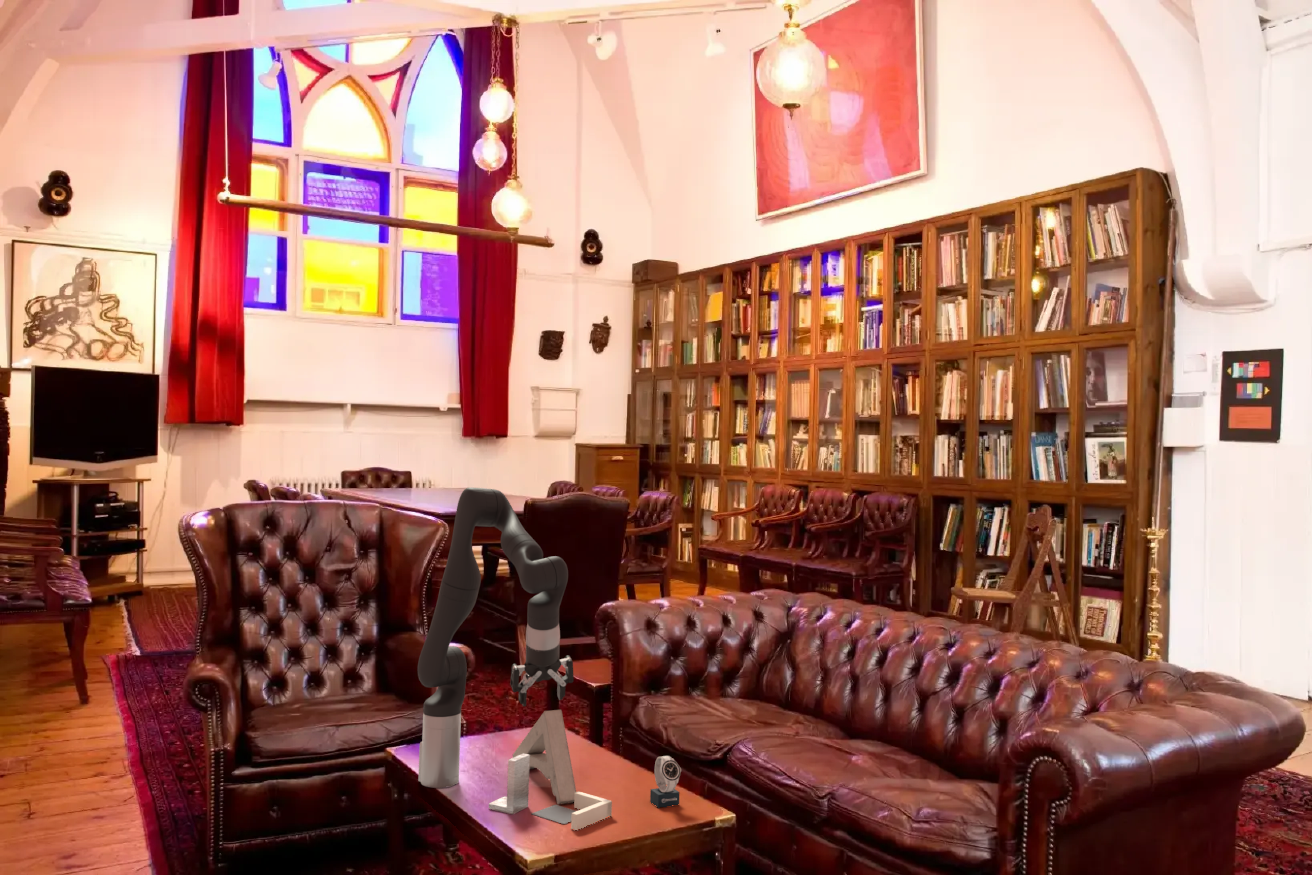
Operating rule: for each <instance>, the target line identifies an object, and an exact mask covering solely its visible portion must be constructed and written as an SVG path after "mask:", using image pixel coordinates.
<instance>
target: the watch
mask: <svg viewBox="0 0 1312 875" xmlns="http://www.w3.org/2000/svg"><path fill="white" fill-rule="evenodd" d="M654 763H655V764H654V771H653V772H654V779H655V784H656V786H657V787H658V788H650V796H649V798H650V799H649V803H650V802H651V804H652V803H653V804H654V805H656V806H657V807H658V808H657V807H656V806H655V807H656V808H657V809H661V808H660V807H664V808H668V807H667V806H671V807H673V806H672V805H678V804H679V805H680V790H679V791H678V790H677V789H676V787H677V784H678V783H679V780H680V776H681V772H682V768H681V767H680V765H679V764H678V762H677V761H676V760H675V759H674V758H672V756H670V755H663V756H658V757H657V758H656V760H655V762H654ZM653 804H652V805H653ZM654 805H653V806H654Z"/></svg>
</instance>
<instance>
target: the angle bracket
mask: <svg viewBox="0 0 1312 875" xmlns="http://www.w3.org/2000/svg"><path fill="white" fill-rule="evenodd" d="M507 760H508V761H507V787H506V788H507V790H506V796H505V795H504V796H502V797H500V798H498V799H496V800H494V801H492V802H489V803H488V809H489V808H490V809H489V810H491V809H492V811H495V812H501V813H505V814H509V815H515V814H517V813H519V812H521V811H522V810H524V809H527V808H529V790H530V788H529V787H530V784H529V783H530V769H529V762H530V755H529V754H521V755H519V756H516V757H514V758H513V757H512V758H510V759H507Z"/></svg>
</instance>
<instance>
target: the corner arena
mask: <svg viewBox="0 0 1312 875" xmlns="http://www.w3.org/2000/svg"><path fill="white" fill-rule="evenodd" d="M573 804H574V805H573V807H574V809H575V808H577V809H576V810H575V811H576V812H573V813H572V816H571V822H570V829H571V830H572V829H574V830H573V831H575V830H577V831H579V830H578V829H580V830H582V829H584V827H585V828H586V826H587V825H590V824H592V825H594V824H596V823H595V822H597V821H599V820H602V819H604V820H606V819H605V818H606V817H608V816H611V817H612V812H613V810H612V809H613V802H612V800H610V799H606V798H603V797H601V796H596V795H594V794H593V795H592V794H589V793H585V792H582V791H576V793H575V799H574V803H573ZM579 809H580V810H579ZM602 821H603V820H602ZM599 822H600V821H599ZM593 823H594V824H593ZM597 823H598V822H597ZM590 826H591V825H590ZM587 827H588V826H587ZM581 828H582V829H581Z"/></svg>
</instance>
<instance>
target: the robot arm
mask: <svg viewBox="0 0 1312 875" xmlns="http://www.w3.org/2000/svg"><path fill="white" fill-rule="evenodd" d="M459 496H460V497H459V499H458V502H457V506H456V510H455V511H456V512H455V518H454V525H453V531H452V537H451V544H450V548H449V552H448V556H447V559H446V560H447V561H446V565H445V569H444V571H443V575H442V579H441V582H440V587H439V592H438V597H437V600H436V604H435V605H436V606H435V608H434V611H433V612H434V613H433V615H432V619H431V623H430V626H429V630H428V631H427V635H426V638H425V641H424V643H423V646H422V649H421V651H420V655H419V658H418V663H417V677H418V680H419V681H420V683H421V685H422V686H424V687H425V688H437V689H436V690H435V692H434V693H433V694H432V695H430V697H428V698H426V699H425V701H424V703H423V706H422V708H423V709H422V710H423V712H422V713H423V714H422V736H421V739H422V741H420V743H419V748H418V749H419V752H418V779H417V780H418V782H420V784H421V785H422V786H424V787H426V788H434V789H440V788H442V789H443V788H449V787H453V786H456V785H457V784H458V783H459V781H460V757H461V756H460V754H461V724H462V723H461V719H462V707H463V706H462V705H463V704H464V701H465V697H466V696H465V695H466V694H465V693H466V683H467V670H468V668H467V667H468V666H467V658H466V655H465V653H464V651H463V650H462V649H461V648H460V647H459V646H454V645H453V646H451V645H450V644H451V641H452V640H453V637H454V635H455V634H456V632H457V631H458V629H459V628H460V626H461V625H462V624H463V622H465V620H466V619H467V618H468V616H469V615H470V614H471V612H472V610H473V608H474V607H475V605H476V602H477V598H478V594H479V591H480V587H481V583H482V582H481V581H482V576H481V570H480V567H479V565H478V563H477V560H476V556H475V554H474V550H473V544H472V543H473V535H474V531H475V527H486V528H487V527H489V528H491V527H494V528H495V529H498V530H499V531H501V535H500V547H501V550H502V553H504V555H505V556H506V557H507V558H508V560H509V561H510V562H511V563H512V565H513V566H514V568H515V570H516V572H517V574H518V575H517V576H518V577H519V582H520V584H521V588H523V590H524V591H526V593H529V594H535V595H534V596H533V597H531V598H530V599H529V600H528V601H527V602H528V603H527V615H526V616H527V617H526V618H527V619H526V622H527V625H526V629H525V630H526V632H525V662H524V664H520V665H517V663H513V664H511V671H510V683H509V686H510V687H511V690H512V692H513V693H517V692H518V702H519V704H520V705H522V707H527V690H528V689H529V688H531V687H532V686H533V684H534V683H539V682H542V681H550V680H551V679H553V680H554V681H555V682H556V684H557V689H556V692H557V693H556V695H557V698H558V701H563V699H564V697H565V696H566V686H567V684H573V682H574V680H575V679H574V662H573V660H572V658H571V656H570V655H565V657H564V658H561V659H560V642H561V641H560V640H561V630H560V629H561V628H560V606H561V604H562V600H563V596H564V594H565V591H566V587H567V584H568V580H569V570H568V569H569V568H568V565H567V563H566V561H564V559H563V558H562V557H560V556H556V555H555V556H548V557H545V558H544V551H543V549H542V548H541V546H540V545H539V544H538V542H536V540H535V539H533V537H532V536H531V535H530V534H529V533H528V531H526V530H525V528H524V526H523V525H522V523H521V522H520V519H519V518H518V515H517V514H516V512H515V510H514V508H513V506H512V505H511V502H510V501H509V499H508V498H507V496H506V495H505V494H504V493H503V492H502V491H500V490H498V489H495V488H484V487H473V486H472V487H467V488H464V490H463V491H462V492H461V494H460V495H459ZM561 666H562V667H563V668H564V669H565V675H564V676H563V675H562V674H560V672H559V670H560V668H561ZM523 672H525V673H524V674H523ZM522 674H523V677H522V679H521V680H520V676H522ZM519 680H520V682H519ZM455 784H456V785H455Z"/></svg>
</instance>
